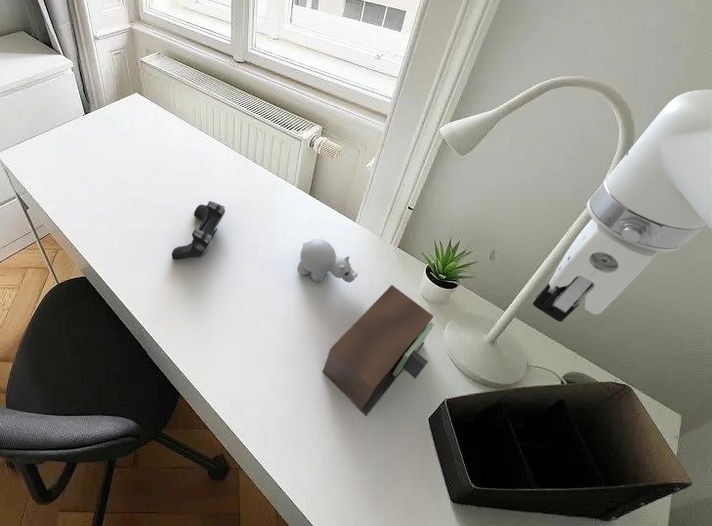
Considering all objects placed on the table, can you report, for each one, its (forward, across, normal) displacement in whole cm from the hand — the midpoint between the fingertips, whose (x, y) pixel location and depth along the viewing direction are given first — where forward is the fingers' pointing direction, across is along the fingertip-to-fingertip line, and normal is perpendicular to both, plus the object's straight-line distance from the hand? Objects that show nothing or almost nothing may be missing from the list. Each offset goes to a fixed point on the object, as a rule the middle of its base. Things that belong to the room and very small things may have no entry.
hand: (548, 309), depth 51 cm
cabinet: (+27, -7, +14) cm, 31 cm away
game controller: (+27, -14, +55) cm, 63 cm away
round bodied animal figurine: (+27, 0, +30) cm, 41 cm away
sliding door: (+26, -3, +8) cm, 28 cm away
